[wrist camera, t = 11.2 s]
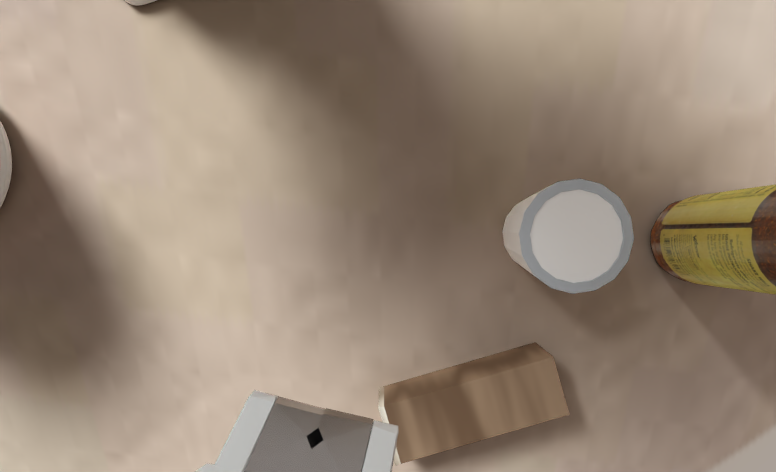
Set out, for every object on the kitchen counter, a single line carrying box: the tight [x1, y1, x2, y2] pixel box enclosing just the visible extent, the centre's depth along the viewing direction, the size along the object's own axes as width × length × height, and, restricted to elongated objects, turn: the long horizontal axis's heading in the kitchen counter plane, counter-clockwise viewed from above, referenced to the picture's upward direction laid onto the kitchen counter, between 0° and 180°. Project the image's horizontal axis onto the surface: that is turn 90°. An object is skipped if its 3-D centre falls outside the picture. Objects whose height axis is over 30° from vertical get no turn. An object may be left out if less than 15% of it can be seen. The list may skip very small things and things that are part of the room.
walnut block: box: [378, 343, 570, 465], centre depth 35 cm, size 4×4×12 cm
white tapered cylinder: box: [502, 179, 634, 294], centre depth 33 cm, size 7×7×7 cm
